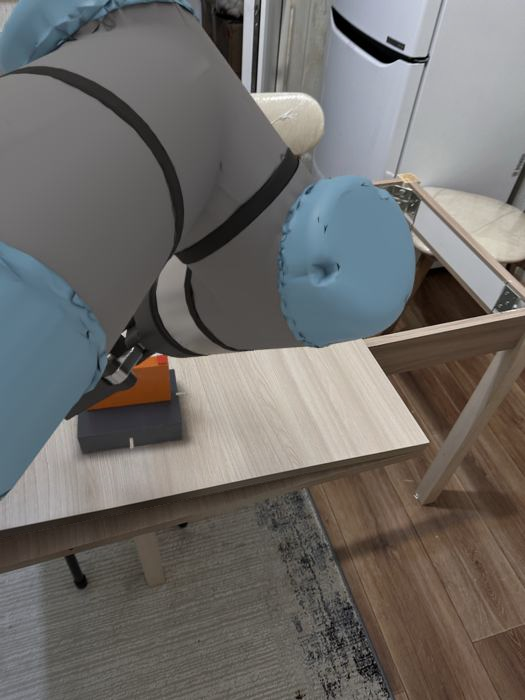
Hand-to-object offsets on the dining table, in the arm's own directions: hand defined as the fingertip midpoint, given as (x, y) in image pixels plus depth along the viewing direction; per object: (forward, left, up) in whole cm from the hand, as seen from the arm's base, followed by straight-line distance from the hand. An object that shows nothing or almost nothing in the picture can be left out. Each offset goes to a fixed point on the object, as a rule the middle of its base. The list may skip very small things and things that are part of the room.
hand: (101, 330), depth 51 cm
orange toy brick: (+1, +1, -12) cm, 12 cm away
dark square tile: (+1, +1, -16) cm, 16 cm away
